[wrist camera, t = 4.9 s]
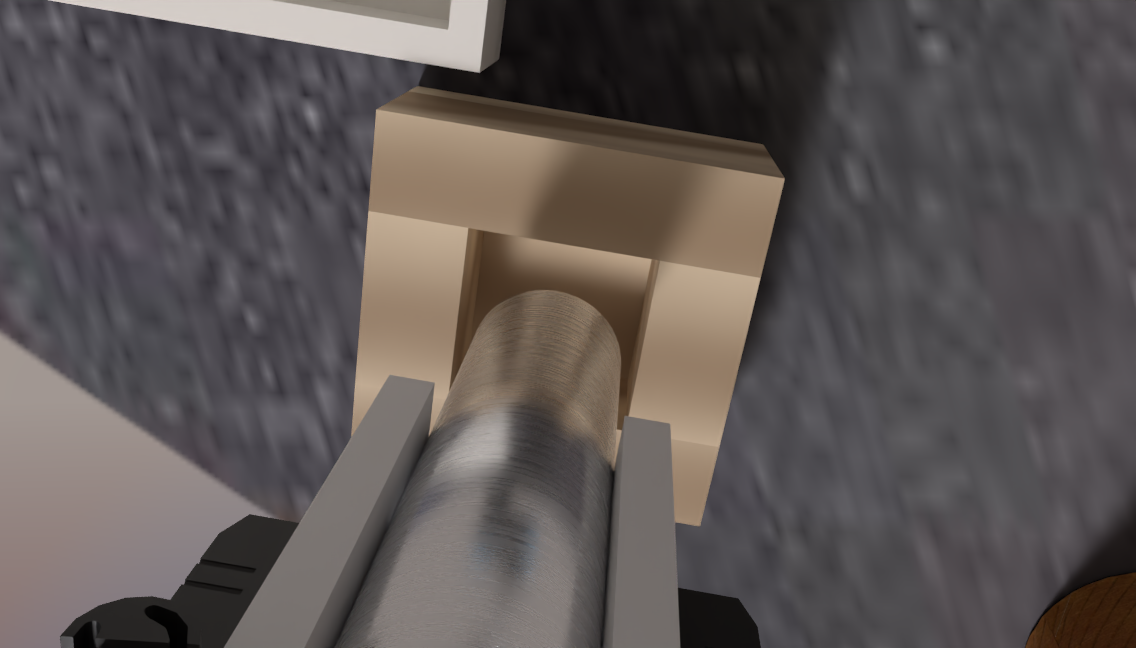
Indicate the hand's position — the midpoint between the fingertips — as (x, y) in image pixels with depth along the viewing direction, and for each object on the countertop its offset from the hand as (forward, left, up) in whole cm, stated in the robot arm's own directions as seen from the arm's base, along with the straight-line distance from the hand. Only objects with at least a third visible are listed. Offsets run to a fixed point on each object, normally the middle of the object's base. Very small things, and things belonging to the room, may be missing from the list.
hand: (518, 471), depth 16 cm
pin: (0, 0, -5) cm, 5 cm away
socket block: (0, 0, -11) cm, 11 cm away
